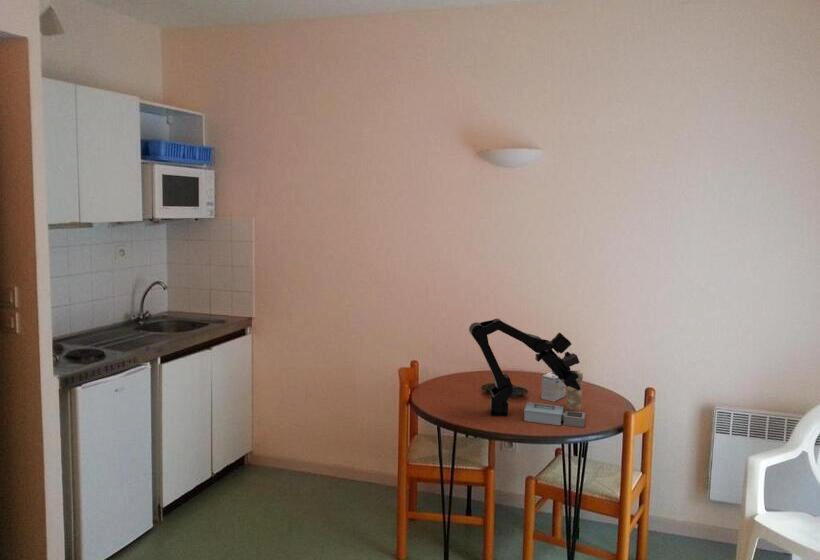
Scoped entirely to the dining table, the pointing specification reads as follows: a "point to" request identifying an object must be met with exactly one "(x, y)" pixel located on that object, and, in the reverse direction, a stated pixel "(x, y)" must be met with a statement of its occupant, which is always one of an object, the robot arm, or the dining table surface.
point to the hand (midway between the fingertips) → (578, 387)
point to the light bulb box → (552, 387)
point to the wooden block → (575, 393)
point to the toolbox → (552, 415)
